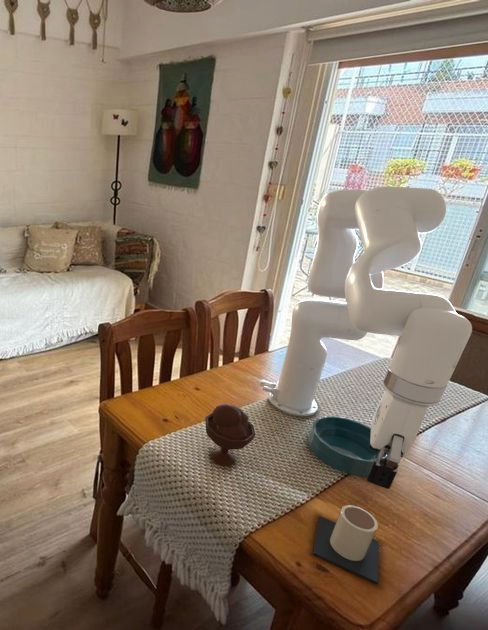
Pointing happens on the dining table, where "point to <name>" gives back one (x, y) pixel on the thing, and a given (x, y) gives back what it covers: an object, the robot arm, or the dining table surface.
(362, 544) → the cream cup
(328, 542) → the slate coaster
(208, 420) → the ice cream bowl
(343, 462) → the teal bowl
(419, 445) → the dining table surface
